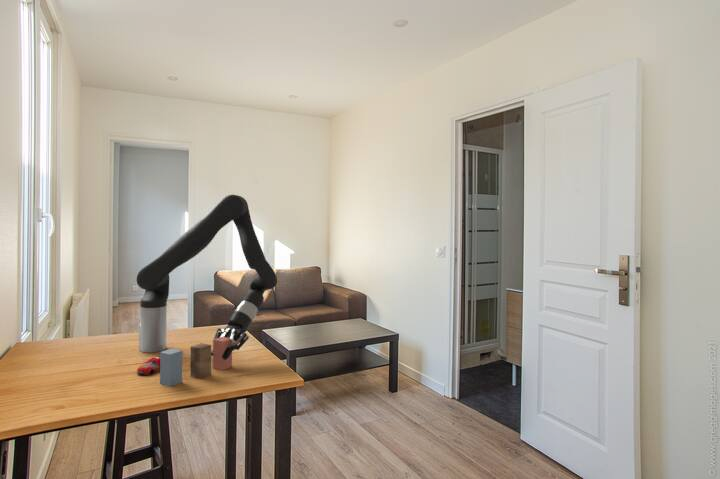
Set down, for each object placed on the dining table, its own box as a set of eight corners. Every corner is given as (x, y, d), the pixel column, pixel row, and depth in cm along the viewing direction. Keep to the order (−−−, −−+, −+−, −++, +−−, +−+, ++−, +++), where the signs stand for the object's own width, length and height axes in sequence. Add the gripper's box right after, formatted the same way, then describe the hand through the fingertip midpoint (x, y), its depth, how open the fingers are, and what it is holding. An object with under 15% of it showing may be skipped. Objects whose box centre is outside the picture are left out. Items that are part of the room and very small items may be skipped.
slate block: (160, 383, 131) (160, 352, 131) (172, 379, 135) (172, 348, 135) (169, 386, 129) (170, 354, 129) (182, 381, 133) (182, 350, 133)
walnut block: (190, 376, 138) (190, 346, 138) (201, 372, 142) (201, 343, 142) (200, 379, 136) (200, 348, 136) (211, 374, 140) (211, 345, 140)
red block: (212, 368, 146) (213, 339, 146) (222, 364, 150) (222, 336, 150) (222, 370, 144) (222, 341, 144) (231, 366, 148) (232, 338, 148)
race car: (146, 377, 137) (146, 365, 137) (133, 375, 139) (133, 363, 138) (175, 364, 150) (175, 353, 150) (162, 363, 151) (162, 352, 151)
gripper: (224, 308, 157) (197, 348, 146) (253, 312, 150) (228, 355, 140) (234, 319, 162) (209, 359, 151) (263, 324, 155) (239, 366, 145)
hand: (218, 357), depth 146 cm, fingers closed on red block, 4 cm apart
